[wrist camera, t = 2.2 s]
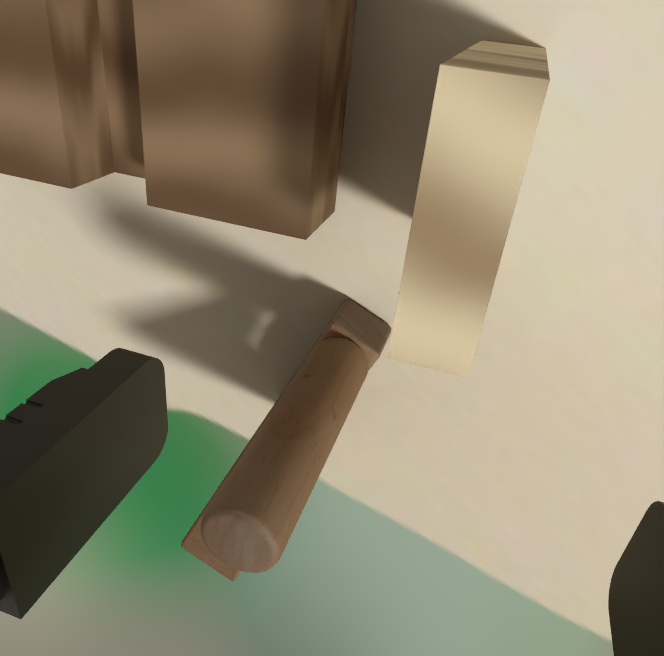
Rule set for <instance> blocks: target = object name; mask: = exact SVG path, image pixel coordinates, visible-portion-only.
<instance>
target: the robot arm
mask: <svg viewBox="0 0 664 656" xmlns="http://www.w3.org/2000/svg"><path fill="white" fill-rule="evenodd" d="M167 432H168V418H167V403H166V388H165V373H164V366H163V363H162V362H161V360H159V359H158V358H154V357H151V356H147V355H143V354H140V353H136V352H133V351H129V350H126V349H122V348H117V349H114V350H112V351H111V352H109V353H108V354H107V355H105V356H104V357H103V358H102V359H100V360H99V361H98V362H97V363H95V364H94V365H93V366H92V367H90V368H89V369H85V368H80V369H78V370H76V371H73V372H71V373H69V374H66V375H64V376H62V377H59V378H57V379H54V380H52V381H51V382H49V383H48V384H46V385H45V386H44V387H42V388H41V389H40V390H39V391H37V392H36V393H35V394H33V395H32V396H31V397H30V398H28V399H27V401H26V403H25V404H20V405H19V406H18V407H16V408H15V409H14V410H12V411H11V412H10V413H8V414H7V415H6V418H5V420H0V611H2V612H5V613H7V614H10V615H12V616H15V617H17V618H19V619H21V618H23V616H24V615H25V614H26V613H27V612H28V611H29V609H30V608H31V607H32V606H33V605H34V603H35V602H36V601H37V600H38V599H39V597H40V596H41V595H42V594H43V593H44V592H45V590H46V589H47V588H48V587H49V585H51V583H52V582H53V581H54V580H55V579H56V577H57V576H58V575H59V574H60V573H61V572H62V570H63V569H64V568H65V567H66V566H67V564H68V563H69V562H70V561H71V560H72V559H73V557H74V556H75V555H76V554H77V553H78V551H79V550H80V549H81V548H82V547H83V546H84V544H85V543H86V542H87V541H88V540H89V539H90V537H91V536H92V535H93V534H94V532H95V531H96V530H97V529H98V528H99V527H100V526H101V524H102V523H103V522H104V521H105V520H106V518H107V517H108V516H109V515H110V514H111V513H112V511H113V510H114V509H115V508H116V507H117V505H118V504H119V503H120V502H121V501H122V500H123V498H124V497H125V496H126V495H127V494H128V492H129V491H130V490H131V489H132V488H133V487H134V485H135V484H136V483H137V481H139V479H140V478H141V477H142V476H143V475H144V474H145V472H146V471H147V470H148V469H149V468H150V467H151V465H152V464H153V463H154V462H155V461H156V459H157V458H158V456H159V454H160V453H161V451H162V449H163V446H164V444H165V441H166V437H167ZM608 602H609V617H610V626H611V634H612V643H613V651H614V656H664V503H663V502H660V501H656V502H654V503H653V504H651V505H650V507H649V508H648V510H647V511H646V513H645V515H644V517H643V518H642V520H641V522H640V524H639V525H638V527H637V529H636V531H635V533H634V534H633V536H632V538H631V540H630V542H629V543H628V545H627V547H626V549H625V551H624V552H623V554H622V556H621V558H620V560H619V561H618V563H617V565H616V567H615V569H614V572H613V575H612V579H611V583H610V589H609V601H608Z"/></svg>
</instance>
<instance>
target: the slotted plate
mask: <svg viewBox="0 0 664 656" xmlns="http://www.w3.org/2000/svg"><path fill="white" fill-rule="evenodd" d="M355 9H356V0H0V173H2V174H7V175H11V176H16V177H21V178H25V179H30V180H34V181H39V182H43V183H48V184H53V185H57V186H62V187H66V188H71V189H72V188H75V187H77V186H80V185H83V184H85V183H88V182H90V181H93V180H95V179H98V178H101V177H103V176H106V175H108V174H111V173H113V172H117V173H121V174H126V175H131V176H136V177H141V178H145V179H146V193H147V205H149V206H153V207H158V208H163V209H167V210H172V211H176V212H181V213H186V214H190V215H195V216H199V217H204V218H208V219H213V220H218V221H222V222H227V223H231V224H236V225H241V226H245V227H250V228H254V229H259V230H263V231H268V232H273V233H277V234H282V235H286V236H291V237H296V238H300V239H305V240H306V239H307V238H308V237H309V236H310V235H311V234H312V233H313V232H314V231H315V230H316V229H317V228H318V227H319V226H320V225H321V224H322V223H323V222H324V221H325V220H326V219H327V218H328V217H329V216H330V215H331V214H332V213H333V212H334V210H335V201H336V191H337V182H338V172H339V162H340V153H341V143H342V133H343V124H344V114H345V105H346V95H347V85H348V76H349V66H350V57H351V47H352V37H353V28H354V18H355Z"/></svg>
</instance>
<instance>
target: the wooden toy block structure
mask: <svg viewBox="0 0 664 656" xmlns="http://www.w3.org/2000/svg"><path fill="white" fill-rule="evenodd" d="M390 333H391V327H390V326H389V325H387V324H386V323H384V322H383V321H381V320H380V319H378V318H377V317H375V316H374V315H372V314H371V313H369V312H368V311H367V310H365V309H364V308H362V307H361V306H359V305H358V304H356V303H355V302H353V301H352V300H349V299H347V300H345V301H344V302H343V304H342V305H341V307H340V308H339V310H338V311H337V313H336V314H335V316H334V317H333V319H332V320H331V322H330V323H329V325H328V326H327V328H326V329H325V330H324V332H323V333H322V335H321V336H320V338H319V339H318V341H317V342H316V344H315V345H314V347H313V348H312V350H311V351H310V353H309V354H308V356H307V357H306V359H305V360H304V361H303V363H302V364H301V366H300V367H299V369H298V370H297V372H296V373H295V375H294V376H293V378H292V379H291V381H290V382H289V384H288V385H287V387H286V388H285V390H284V391H283V392H282V394H281V395H280V397H279V398H278V400H277V401H276V403H275V404H274V406H273V407H272V409H271V410H270V412H269V413H268V414H267V416H266V417H265V419H264V420H263V422H262V423H261V425H260V426H259V428H258V429H257V431H256V432H255V434H254V435H253V437H252V438H251V440H250V441H249V443H248V444H247V446H246V447H245V449H244V450H243V451H242V453H241V454H240V456H239V457H238V459H237V460H236V462H235V463H234V465H233V466H232V468H231V469H230V471H229V472H228V474H227V475H226V477H225V478H224V480H223V481H222V483H221V484H220V486H219V487H218V489H217V490H216V492H215V493H214V494H213V496H212V498H211V499H210V501H209V502H208V503H207V505H206V506H205V508H204V509H203V511H202V512H201V514H200V515H199V517H198V518H197V520H196V521H195V523H194V524H193V526H192V527H191V529H190V530H189V532H188V533H187V535H186V536H185V538H184V539H183V541H182V544H181V547H182V548H184V549H185V550H187V551H188V552H190V553H191V554H193V555H194V556H196V557H197V558H198V559H200V560H202V561H203V562H204V563H206V564H207V565H209V566H210V567H212V568H213V569H215V570H216V571H218V572H219V573H221V574H222V575H224V576H225V577H227V578H228V579H230V580H231V581H234V580H235V579H236V578H237V577H238V575H239V574H240V572H241V571H244V572H252V573H258V572H263V571H267V570H268V569H270V568H271V567H273V566H274V565H275V564H277V563H278V561H279V559H280V557H281V555H282V553H283V551H284V549H285V547H286V545H287V542H288V540H289V538H290V536H291V534H292V532H293V530H294V528H295V526H296V523H297V521H298V519H299V517H300V515H301V513H302V511H303V508H304V506H305V504H306V502H307V500H308V498H309V496H310V494H311V491H312V490H313V488H314V485H315V483H316V481H317V479H318V477H319V475H320V473H321V471H322V469H323V466H324V464H325V462H326V460H327V458H328V456H329V454H330V452H331V450H332V447H333V445H334V443H335V441H336V439H337V437H338V435H339V433H340V430H341V428H342V426H343V424H344V422H345V420H346V418H347V416H348V414H349V411H350V409H351V407H352V405H353V403H354V401H355V399H356V397H357V395H358V392H359V390H360V388H361V386H362V384H363V382H364V380H365V378H366V376H367V373H368V370H369V369H370V368H371V367H372V365H373V364H374V363H375V362H376V360H377V359H378V358H379V356H380V355H381V352H382V350H383V348H384V346H385V344H386V342H387V339H388V337H389V335H390Z"/></svg>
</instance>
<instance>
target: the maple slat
mask: <svg viewBox="0 0 664 656" xmlns="http://www.w3.org/2000/svg"><path fill="white" fill-rule="evenodd" d="M549 81H550V79H549V71H548V63H547V54H546V48H540V47H532V46H524V45H517V44H509V43H501V42H493V41H486V40H481V41H480V42H478V43H476V44H475V45H473V46H471V47H469V48H468V49H466V50H464V51H463V52H461V53H459V54H457V55H456V56H454V57H452V58H450V59H449V60H447V61H445V62H444V63H442V64H440V67H439V73H438V78H437V84H436V89H435V95H434V101H433V106H432V112H431V117H430V123H429V129H428V134H427V140H426V145H425V151H424V156H423V162H422V168H421V173H420V179H419V184H418V190H417V196H416V201H415V207H414V212H413V218H412V223H411V229H410V235H409V240H408V246H407V251H406V257H405V263H404V268H403V274H402V279H401V285H400V290H399V296H398V302H397V307H396V313H395V318H394V324H393V329H392V335H391V341H390V346H389V352H388V358H392V359H396V360H399V361H403V362H407V363H411V364H415V365H419V366H423V367H427V368H431V369H435V370H438V371H442V372H446V373H450V374H454V375H458V376H462V377H466V378H468V376H469V373H470V369H471V365H472V362H473V358H474V354H475V351H476V347H477V343H478V340H479V336H480V332H481V329H482V325H483V322H484V318H485V314H486V311H487V307H488V303H489V300H490V296H491V292H492V289H493V285H494V281H495V278H496V274H497V270H498V267H499V263H500V259H501V256H502V252H503V249H504V245H505V241H506V238H507V234H508V230H509V227H510V223H511V219H512V216H513V212H514V208H515V205H516V201H517V197H518V194H519V190H520V186H521V183H522V179H523V176H524V172H525V168H526V165H527V161H528V157H529V154H530V150H531V146H532V143H533V139H534V135H535V132H536V128H537V124H538V121H539V117H540V114H541V110H542V106H543V103H544V99H545V95H546V92H547V88H548V84H549Z"/></svg>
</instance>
